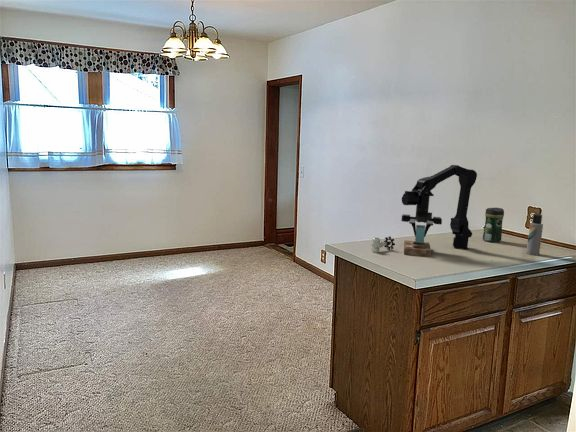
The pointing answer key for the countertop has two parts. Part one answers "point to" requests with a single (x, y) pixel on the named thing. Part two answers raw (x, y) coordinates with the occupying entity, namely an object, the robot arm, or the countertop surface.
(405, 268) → the countertop surface
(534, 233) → the lotion bottle
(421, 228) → the plug
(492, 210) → the coffee jar
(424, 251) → the socket plate
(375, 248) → the valve
